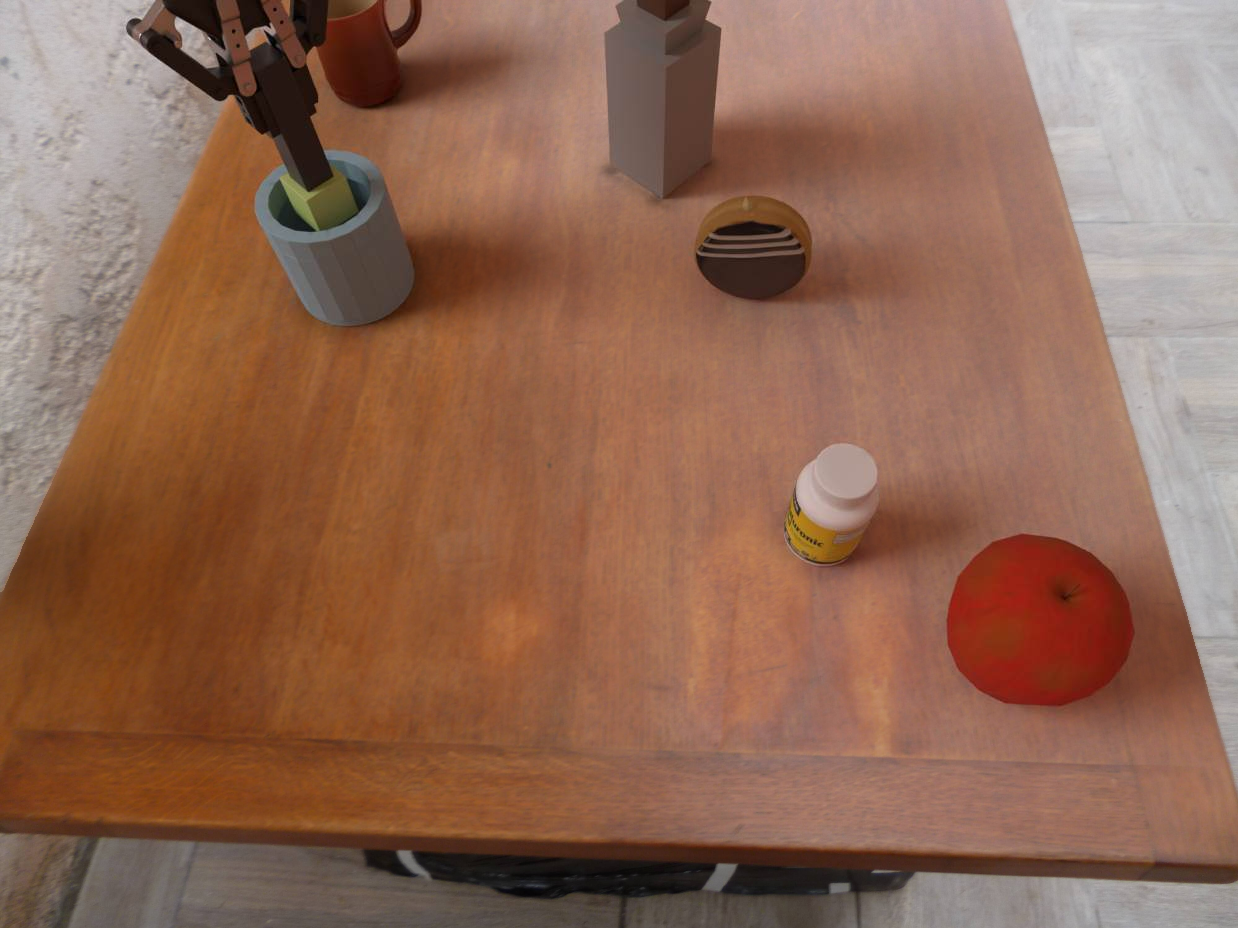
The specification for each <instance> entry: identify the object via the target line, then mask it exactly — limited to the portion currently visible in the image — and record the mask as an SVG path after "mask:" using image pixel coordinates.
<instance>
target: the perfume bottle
mask: <svg viewBox="0 0 1238 928" xmlns="http://www.w3.org/2000/svg"><path fill="white" fill-rule="evenodd" d="M711 5H712V1H711V0H622V1H620V2H618V3H617V4H615V5H614V7H615V9H616V13H617V16H618V19H619V22H618V23H617V24H615V25H614V26H612V27H611V28H609V29H607V30H606V31H605V32H604V33H603V34H604V35H603V36H604V58H605V82H606V105H607V126H608V127H607V128H608V146H609V149H608V150H609V165H610V166H611V167H613V168H614V169H615V170H617V171H619V172H620V173H622V174H624V175H625V176H627V177H628V178H630V179H631V180H633V181H634V182H636V183H638V184H639V185H641V186H642V187H644V188H645V189H647V190H648V191H650V192H652V193H653V194H654V195H656V196H658V197H659V198H660V199H664V198H666V197H667V196H669V195H670V194H671V193H672V192H673V191H675V190H676V189H677V188H678V187H680V186H682V184H684V183H685V182H686V181H687V180H688V179H690V178H691V177H693V176H694V175H695V174H696V173H697V172H699V171H700V170H701V169H703V168H704V167H705V166H706V165H708V163H710V162H711V158H712V147H713V137H714V135H713V134H714V124H715V113H716V112H715V110H716V100H717V87H718V75H719V63H720V54H721V53H720V52H721V51H720V50H721V40H722V27H720V26H719V25H718V24H715V23H713V22H711V21H709V20H707V17H708V14H709V11H710V8H711Z"/></svg>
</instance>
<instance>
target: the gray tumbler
mask: <svg viewBox="0 0 1238 928" xmlns="http://www.w3.org/2000/svg"><path fill="white" fill-rule="evenodd" d="M323 150H324V153H325V155H326V158H327V160H328V163H330V164H331V165H332V166H333V167H334V168H336V169H337V170H338V171H339V172H341V173H342V174H343V175H344V176H345V177H346V179H347V182H348V185H349V187H350V190H351V192H352V195H353V198H354V200H355V203H356V205H357V208H358V210H359V212H358V213H356V214H355V215H353V216H352V217H350V218H349V219H347V220H346V221H344V222H343V223H341V224H339V225H338V226H336V227H334V228H332V229H329V230H324V231H316V230H315V229H314V228H312V227H311V226H310V225H309V224H308V223H307V222H306V221H305V220H303V219H302V218H301V217H300V216H299V215H298V214H297V213H296V212H295V210H294V208H293V206H292V204H291V202H290V199H289V197H288V195H287V193H286V191H285V189H284V187H283V185H282V182H281V180H280V177H281V176H283V175H285V174H286V173H288V171H287V169H286V167H285V164H284V163H282V164H281V165H279V166H277V167H276V168H274V169H273V171H271V172H270V174H268V176H266V177H265V178H264V180H262V182H261V184H260V186H259V188H258V190H257V191H256V194H255V197H254V199H255V200H254V214H255V216H256V218H257V221H258V223H259V225H260V227H261V229H262V231H263V232H264V234H265V236H266V238H267V240H268V242H269V244H270V246H271V248H272V250H273V251H274V254H275V255H276V257H277V259H278V261H279V262H280V265H281V266H282V268H283V270H284V272H285V274H286V276H287V277H288V279H289V281H290V283H291V285H292V287H293V288H294V291H295V292H296V294H297V297H298V298H299V301H300V302H301V303H302V305H303V306H304V308H305V309H306V311H307V312H308V313H309V314H310V315H311V316H312V317H314V318H315V319H317V320H318V321H320V322H323V323H325V324H328V325H332V326H337V327H357V326H358V327H359V326H364V325H367V324H371V323H374V322H377V321H380V320H381V319H384V318H386V317H387V316H389V315H391V314H392V313H393V312H395V311H396V310H397V309H398V308H399V307H400V306H402V305H403V303H405V301H406V300H407V298H408V297H409V295H410V293H411V291H412V289H413V286H414V282H415V274H416V273H415V267H414V265H413V264H414V263H413V260H412V256H411V253H410V250H409V247H408V245H407V242H406V239H405V236H404V233H403V229H402V227H401V224H400V222H399V219H398V215H397V212H396V208H395V206H394V204H393V200H392V197H391V195H390V192H389V189H388V186H387V183H386V179H385V177H384V176H383V173H382V172H381V170H380V169H379V167H378V166H377V164H375V163H374V162H372V161H371V160H370V159H369V158H367V157H366V156H363V155H362V154H358V153H355V152H353V151H348V150H339V149H323Z"/></svg>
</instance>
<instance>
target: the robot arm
mask: <svg viewBox="0 0 1238 928" xmlns="http://www.w3.org/2000/svg"><path fill="white" fill-rule="evenodd" d="M282 1H283V0H154V1H153V3H152V4H151V6H150V7H149V9H148V11H147V12H146V13H145V15H144V17H143V18H142V19H141V18H138V17H133V18H131V19H129V20H128V21H127V23H126V25H125V31H126V34H127V35H128V36H129V37H130V38H131V39H133V40H134V41H135V43H137V44H138V45H139V46H140V47H142V48H143V49H144V50H146V52H148V53H149V54H150V55H152V57H154V58H156V59H157V60H158V61H160V62H161V63H162V64H164V65H165V66H166V67H168V68H169V69H171V70H172V71H174V72H175V73H177V74H178V75H179V76H181V77H182V78H184V79H185V80H186V81H188V82H189V83H191V84H192V85H193V86H195V87H196V88H197V89H199V90H200V91H202V92H203V93H204V94H206V95H207V96H209V97H210V98H212V99H213V100H214V101H216V102H225V100H227V99H228V97H229V96H233V98H234V100H235V102H236V104H237V107H238V108H239V110H240V112H241V114H242V117H243V119H244V121H245V122H246V123H247V124H248V125H250V126H251V128H253V129H254V130H255V131H256V132H258V133H259V134H260V135H261V136H263V135H266V136H267V137H269V138H270V139H272V140H273V138H275V137H277V136H278V135H280V134H281V132H280V130H279V128H278V125H277V123H276V121H275V119H274V116H273V114H272V112H271V110H270V107H269V105H268V103H267V101H266V98H265V96H264V94H263V92H262V90H261V89H260V88H258V87H257V85H256V81H255V78H254V75H253V72H252V68H251V65H250V62H249V60H250V59H251V54H250V51H249V50H250V48H249V45H248V41H247V38H246V37H247V36H248V35H249V34H250V33H251V32H252V31H253V30H255V29H258V28H259V30H260V31H261V33H262V35H263V36H264V38H265V41H266V42H268V43H269V44H270V45H271V46H273V47H274V48H275V49H277V50H278V51H279V52H281V53H282V54H283V55H284V56H286V58H287V60H288V63H289V65H290V68H291V70H292V73H293V75H294V78H295V80H296V83H297V85H298V88H299V90H300V93H301V95H302V98H303V100H304V103H305V105H306V108H307V110H308V113H309V115H310V117H312V116H315V114H317V107H316V104H318V103H319V92H318V90H317V88H316V84H315V83H314V80H313V77H312V73H311V72H310V69H309V66H308V63H307V61H308V54H310V52H311V51H312V49H314V47H315V48H316V47H320V46H322V45H323V44H324V42H325V39H326V27H327V15H328V2H329V0H289V13H288V12H287V10H286V8H285V6H284V4H283V2H282ZM177 18H178V19H180V20H182V21H183V22H185V23H187V24H189V25H190V26H193V28H196V29H198V30H200V31H201V33H202V36H203V39H204V41H205V42H206V44H207V47H209V49H210V51H211V54H212V56H213V59H214V62H215V65H216V66H213V67H206V66H204V65H203V64H201V63H200V62H199V61H198V60H197V59H195V58H194V57H192V56H191V55H190V54H189V53H187V52H185V51H184V50H183V49H182V48H183V36H182V34H181V33H180V31H179V30H178V29H177V27H176V25H175V24H176V23H175V22H176V19H177Z"/></svg>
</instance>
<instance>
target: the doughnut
mask: <svg viewBox="0 0 1238 928" xmlns="http://www.w3.org/2000/svg"><path fill="white" fill-rule="evenodd" d="M812 239H813V238H812V234H811V229H810V227H809V225H808V223H807V221H806V220H805V218H804V217H803V216H802V215H801V214H800V212H799V211H797V210H796V209H795V208H793V207H792V206H791V205H789V204H788V203H786V202H783V201H781V200H779V199H776V198H773V197H769V196H764V195H741V196H736V197H732V198H729V199H727V200H724V201H722V202H721V203H719V204H717V205H716V206H714V207H713V208H712V209H711V210H710V211H708V213H706V215H705V216H704V217H703V219H702V221H701V222H700V224H699V227H698V231H697V235H696V238H695V241H694V246H693V258H694V262H695V265H696V267H697V269H698V271H699V273H700V274H701V276H702V277H703V278H704V279H705V280H706V281H707V282H708V283H709V284H710V285H712V286H713V287H714V288H716V289H718V290H720V291H721V292H723V293H725V294H728V295H731V296H734V297H737V298H742V299H753V300H756V299H757V300H758V299H767V298H768V299H769V298H772V297H777V296H779V295H783V294H784V293H787V292H788V291H790V290H792V289H793V288H795V287H797V285H798V284H800V283H801V282H802V280H803V279H804V278H805V276H806V275H807V273H808V272H809V269H810V266H811V261H812V247H813V240H812Z"/></svg>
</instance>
